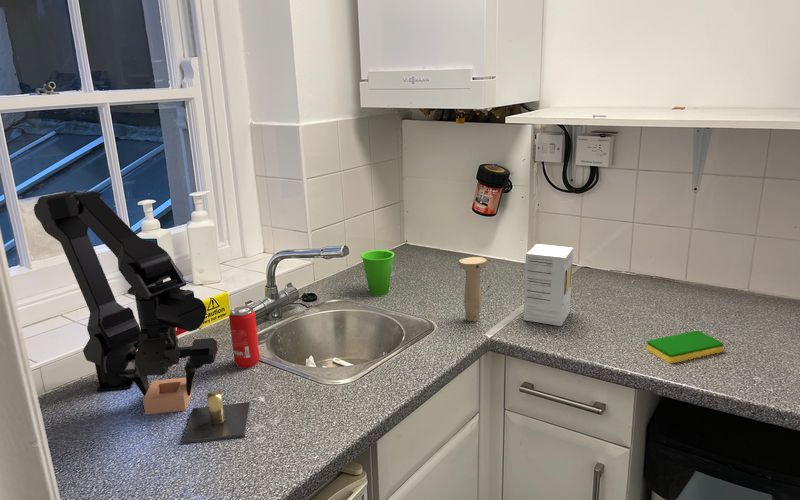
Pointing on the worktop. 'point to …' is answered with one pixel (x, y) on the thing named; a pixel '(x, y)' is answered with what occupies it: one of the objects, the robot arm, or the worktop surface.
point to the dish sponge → (684, 346)
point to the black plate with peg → (217, 420)
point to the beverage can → (244, 336)
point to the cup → (378, 270)
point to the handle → (472, 286)
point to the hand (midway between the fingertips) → (168, 396)
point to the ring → (166, 396)
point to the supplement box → (548, 284)
